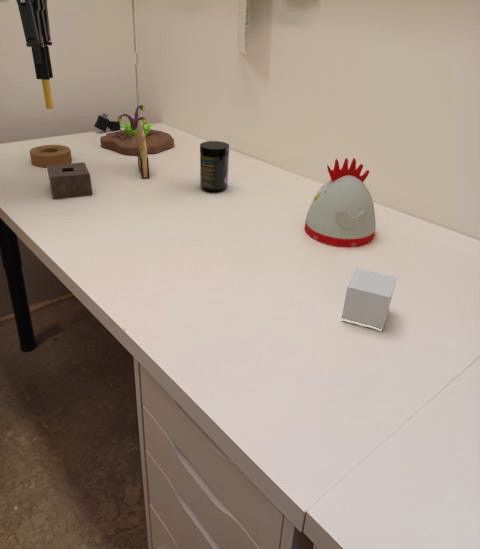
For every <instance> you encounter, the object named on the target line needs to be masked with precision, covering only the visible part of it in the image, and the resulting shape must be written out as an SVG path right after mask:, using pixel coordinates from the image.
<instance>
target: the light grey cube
mask: <svg viewBox="0 0 480 549" xmlns="http://www.w3.org/2000/svg"><path fill="white" fill-rule="evenodd" d="M396 281H397V276H392V275H388V274H384V273H381V272H375V271H371V270H367V269H363V268H358V267H356V268H355V269H354V271H353V273H352V275H351V278H350V280H349V282H348V285H347V288H346V293H345V298H344V303H343V309H342V313H341V314H342V315H341V319H342V318H343V319H347V320H350V321H354V322H358V323H361V324H365V325H370V326H373V327H376V328H379V329H383V330H384V327H385V323H386V321H387V317H388V313H389V310H390V306H391V301H392V297H393V293H394V289H395V285H396Z"/></svg>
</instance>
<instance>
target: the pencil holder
mask: <svg viewBox="0 0 480 549" xmlns="http://www.w3.org/2000/svg"><path fill="white" fill-rule="evenodd" d="M46 171H47V176H48V177H47V178H48V183H49V187H50V188H49V189H50V192H51V195H52V200H58V199H60V200H61V199H69V198H77V197H85V196H92V195H93V188H92V181H91V173H90V172H89V169H88V167H87V165H86V163H85V162H73V163H68V164H59V165H48V166H47V167H46Z"/></svg>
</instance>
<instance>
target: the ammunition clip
mask: <svg viewBox="0 0 480 549" xmlns="http://www.w3.org/2000/svg"><path fill="white" fill-rule="evenodd" d="M141 122H142V121H141V120H138V125H137V145H138V147H137V153H138V156H137V165H138V169H139V174H140V177H141V179H144V180H145V179H150V166H149V165H150V164H149V157H148V154H147V146H146V140H145V133H144V130H143V128H142V125H141Z"/></svg>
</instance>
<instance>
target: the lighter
mask: <svg viewBox="0 0 480 549" xmlns="http://www.w3.org/2000/svg"><path fill="white" fill-rule="evenodd" d="M108 116H109V114H107V113H104V112H103V113H101V115H100V114H99V115H98V116H97V119H96V121H95V123H94V125H93V127H94V128H96V129H98V130H100V131H102V132H103V133H106V131H107V130H111V131H120V130H121V125H120V124H121V121H120V122H118V121H117V120H110V118H109V117H108Z"/></svg>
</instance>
